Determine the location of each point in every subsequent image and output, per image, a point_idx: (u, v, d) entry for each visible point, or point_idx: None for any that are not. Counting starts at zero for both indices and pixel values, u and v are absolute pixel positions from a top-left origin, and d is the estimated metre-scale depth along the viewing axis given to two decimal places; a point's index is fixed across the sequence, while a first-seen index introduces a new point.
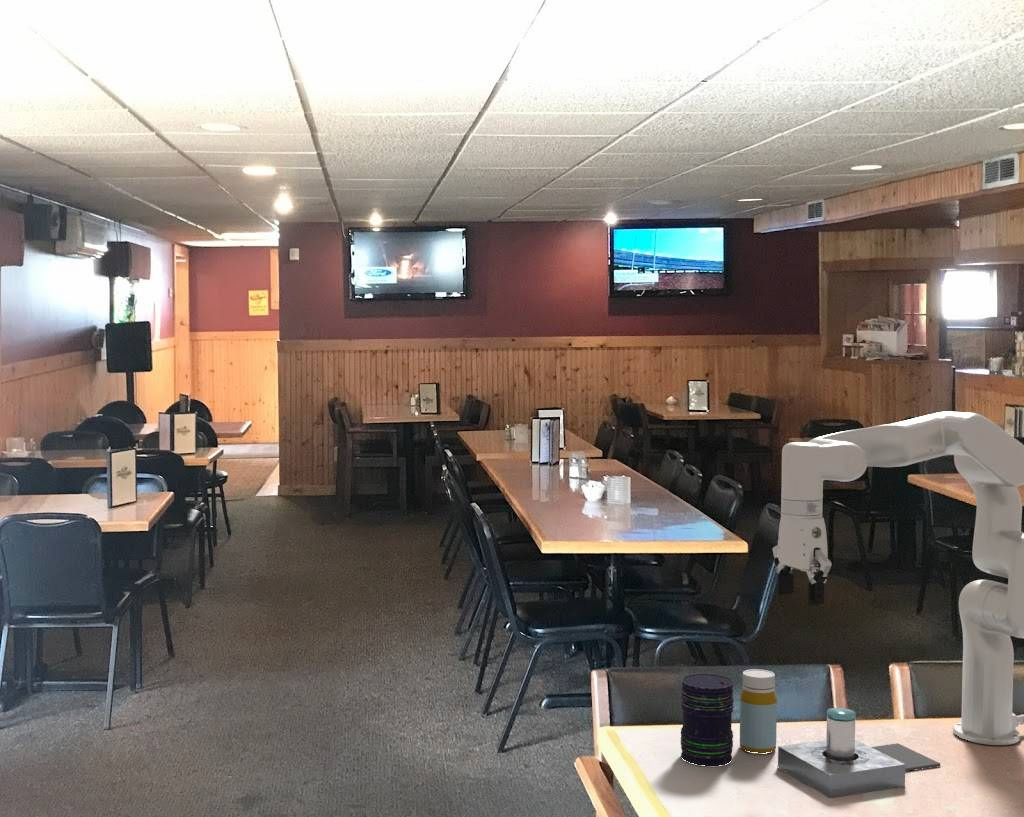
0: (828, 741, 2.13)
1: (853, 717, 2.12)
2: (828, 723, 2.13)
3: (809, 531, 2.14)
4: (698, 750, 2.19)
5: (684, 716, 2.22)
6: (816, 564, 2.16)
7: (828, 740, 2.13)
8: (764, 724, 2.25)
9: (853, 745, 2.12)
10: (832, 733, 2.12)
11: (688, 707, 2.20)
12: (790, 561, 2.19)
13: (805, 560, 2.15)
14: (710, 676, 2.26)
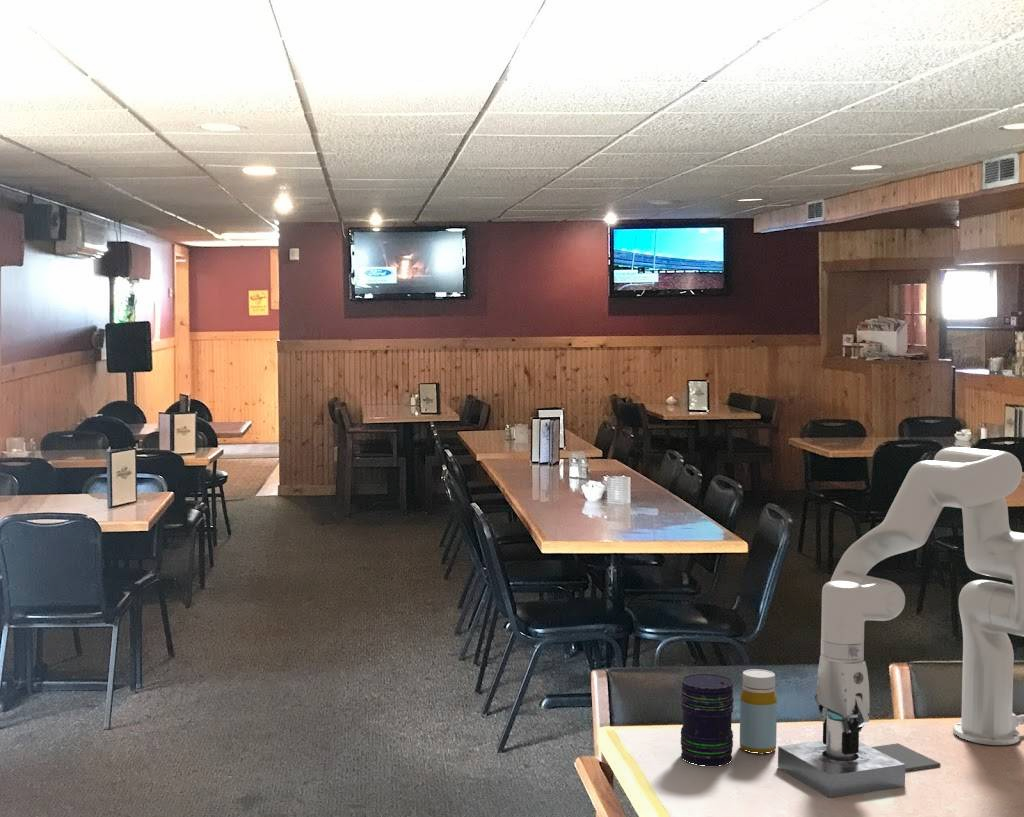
0: (828, 741, 2.13)
1: None
2: (828, 723, 2.13)
3: (851, 676, 2.08)
4: (698, 750, 2.19)
5: (684, 716, 2.22)
6: (855, 710, 2.11)
7: (828, 740, 2.13)
8: (764, 724, 2.25)
9: None
10: (832, 733, 2.12)
11: (688, 707, 2.20)
12: (830, 704, 2.13)
13: (846, 706, 2.08)
14: (710, 676, 2.26)
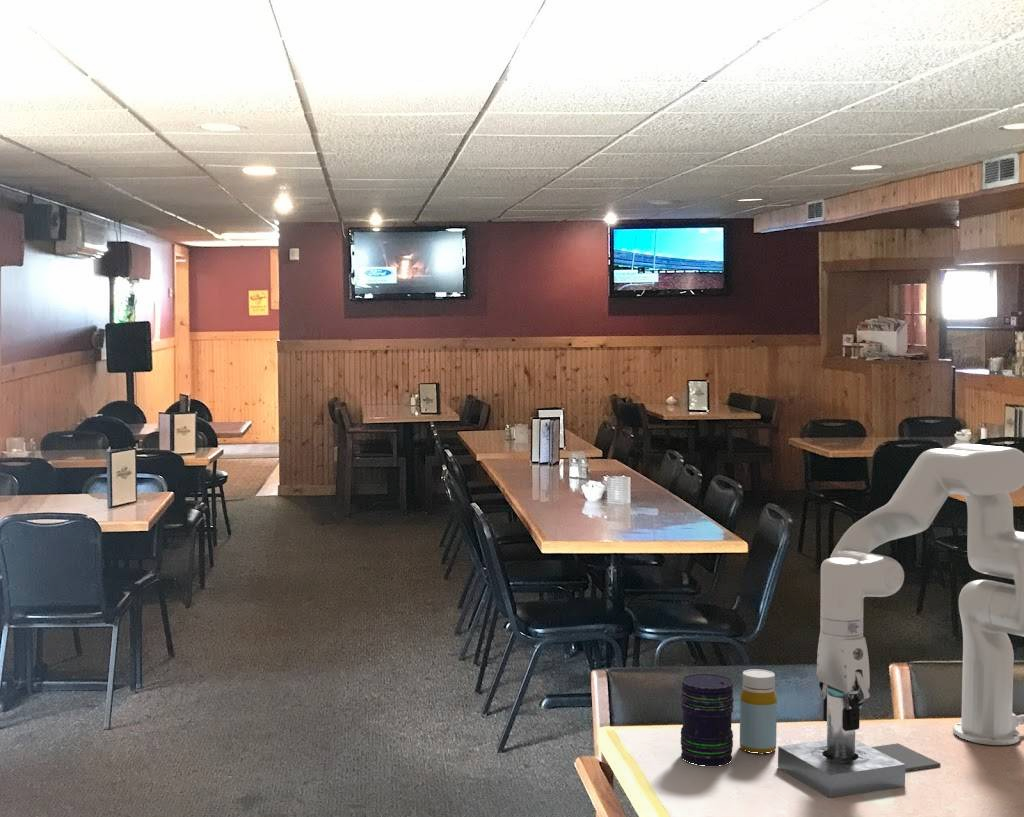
0: (829, 718, 2.13)
1: None
2: (828, 700, 2.13)
3: (850, 653, 2.08)
4: (698, 750, 2.19)
5: (684, 716, 2.22)
6: (855, 686, 2.11)
7: (829, 717, 2.13)
8: (764, 724, 2.25)
9: None
10: (833, 710, 2.12)
11: (688, 707, 2.20)
12: (830, 681, 2.12)
13: (847, 682, 2.08)
14: (710, 676, 2.26)
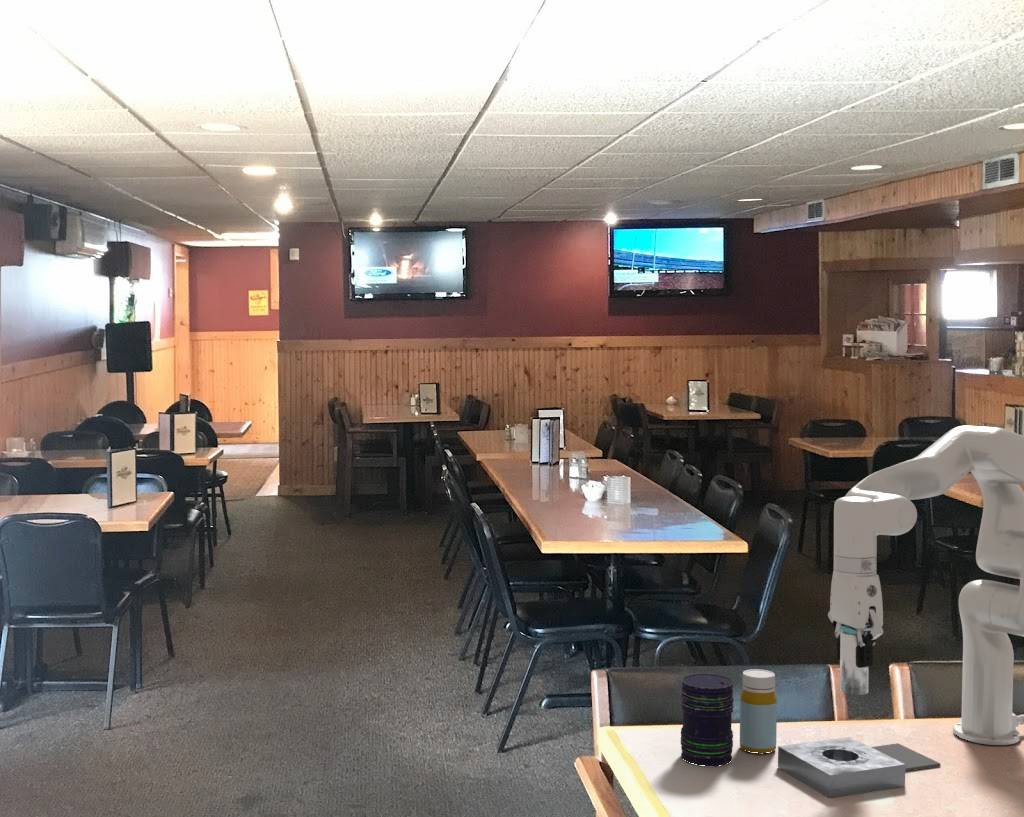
0: (842, 655, 2.14)
1: (866, 631, 2.13)
2: (842, 637, 2.14)
3: (864, 589, 2.09)
4: (698, 750, 2.19)
5: (684, 716, 2.22)
6: (868, 624, 2.12)
7: (842, 654, 2.14)
8: (764, 724, 2.25)
9: None
10: (846, 647, 2.13)
11: (688, 707, 2.20)
12: (844, 619, 2.14)
13: (860, 619, 2.10)
14: (710, 676, 2.26)
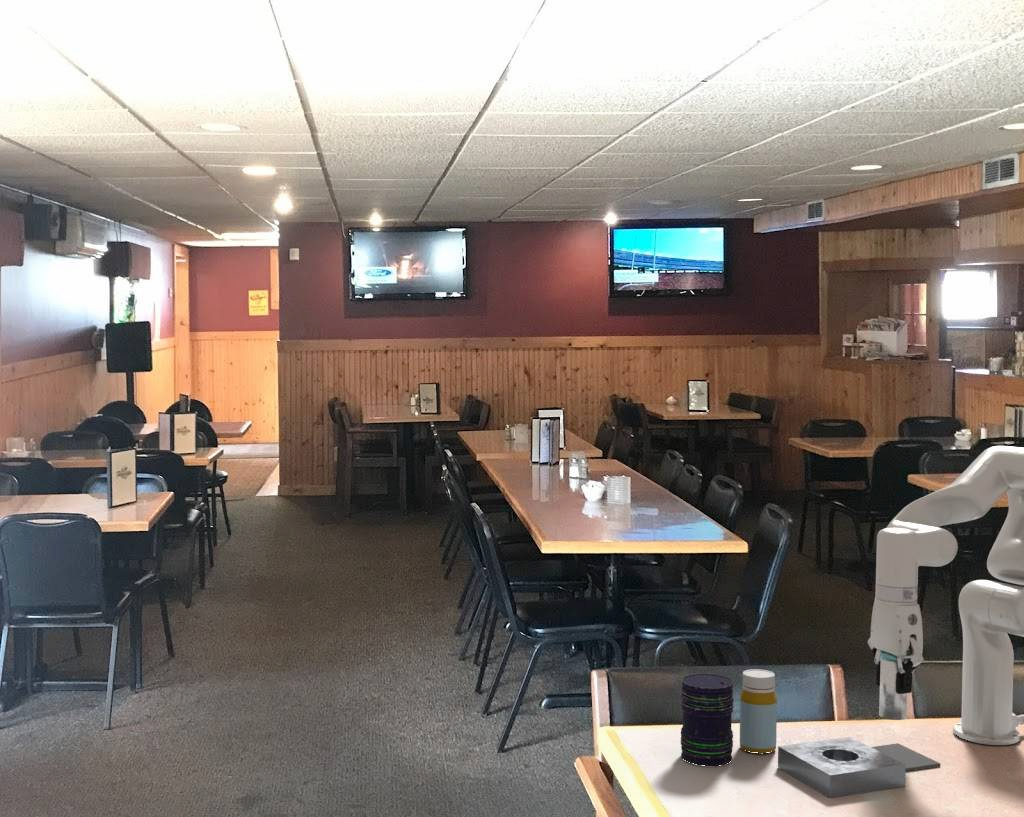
0: (882, 681, 2.21)
1: None
2: (882, 664, 2.21)
3: (905, 618, 2.17)
4: (698, 750, 2.19)
5: (684, 716, 2.22)
6: (908, 651, 2.20)
7: (882, 680, 2.21)
8: (764, 724, 2.25)
9: None
10: (886, 673, 2.20)
11: (688, 707, 2.20)
12: (884, 646, 2.21)
13: (901, 647, 2.17)
14: (710, 676, 2.26)
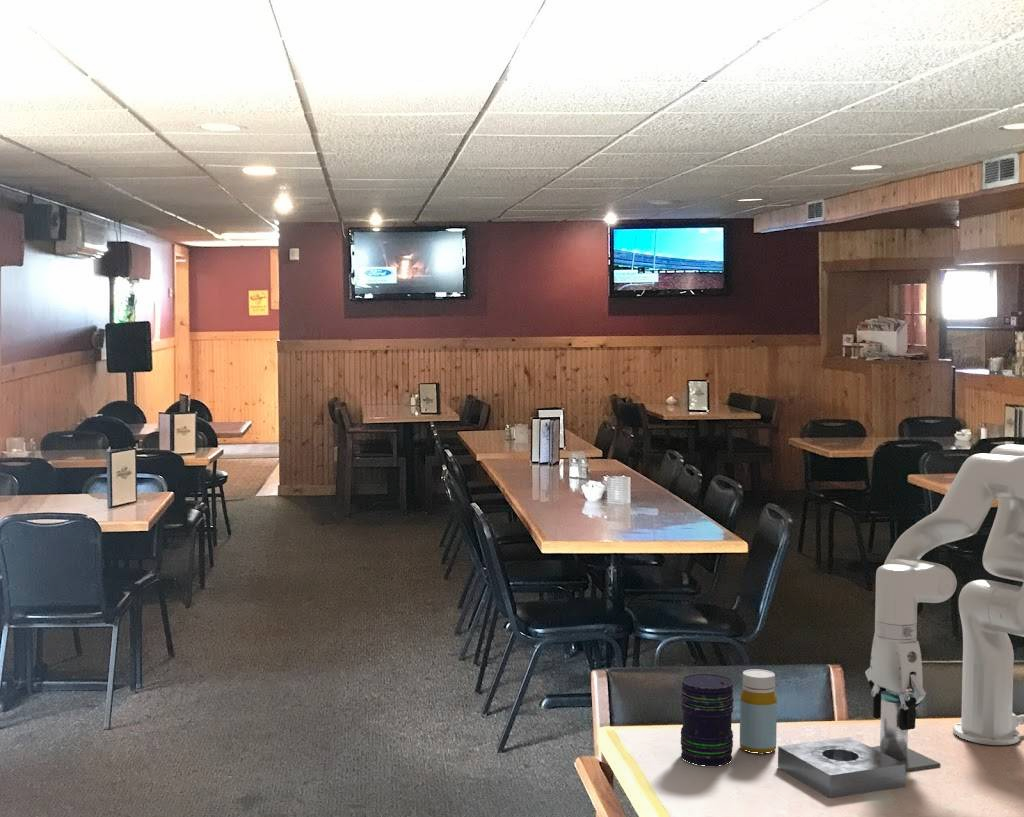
0: (882, 722, 2.22)
1: (907, 699, 2.21)
2: (882, 705, 2.22)
3: (905, 655, 2.17)
4: (698, 750, 2.19)
5: (684, 716, 2.22)
6: (909, 688, 2.20)
7: (882, 721, 2.22)
8: (764, 724, 2.25)
9: None
10: (887, 714, 2.21)
11: (688, 707, 2.20)
12: (884, 682, 2.22)
13: (901, 684, 2.17)
14: (710, 676, 2.26)
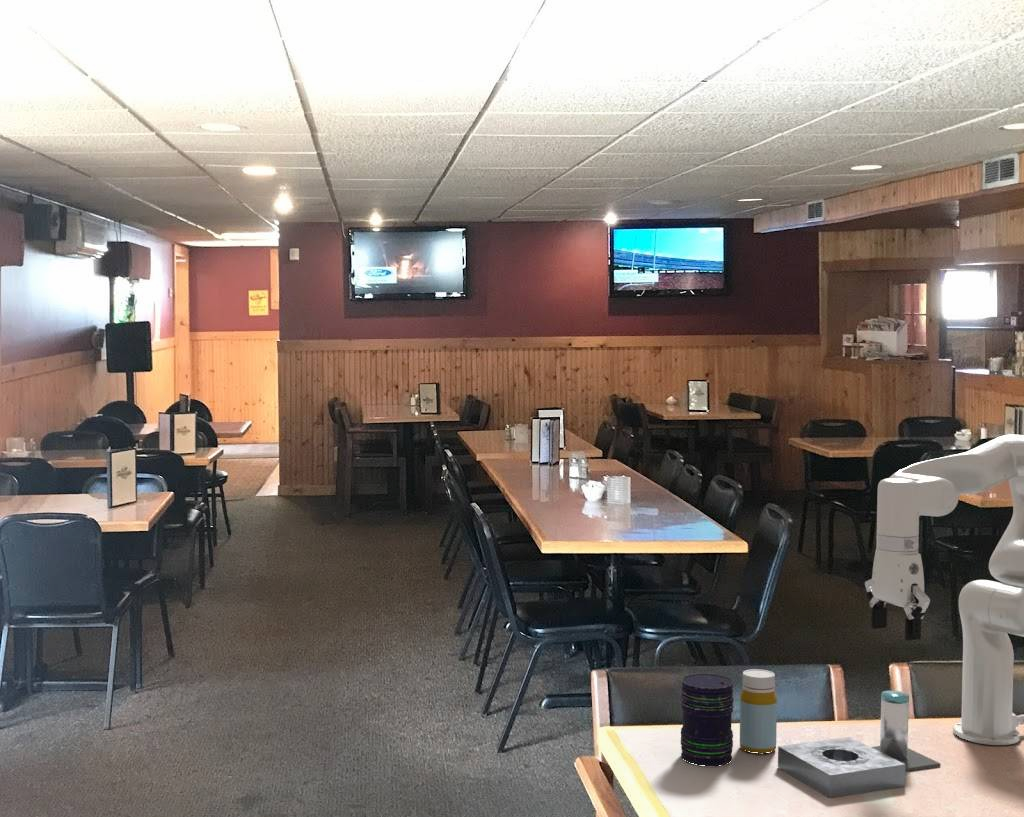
0: (882, 722, 2.22)
1: (907, 699, 2.20)
2: (883, 705, 2.22)
3: (907, 567, 2.16)
4: (698, 750, 2.19)
5: (684, 716, 2.22)
6: (913, 599, 2.18)
7: (882, 721, 2.22)
8: (764, 724, 2.25)
9: (907, 726, 2.21)
10: (887, 715, 2.21)
11: (688, 707, 2.20)
12: (886, 596, 2.21)
13: (902, 596, 2.17)
14: (710, 676, 2.26)
